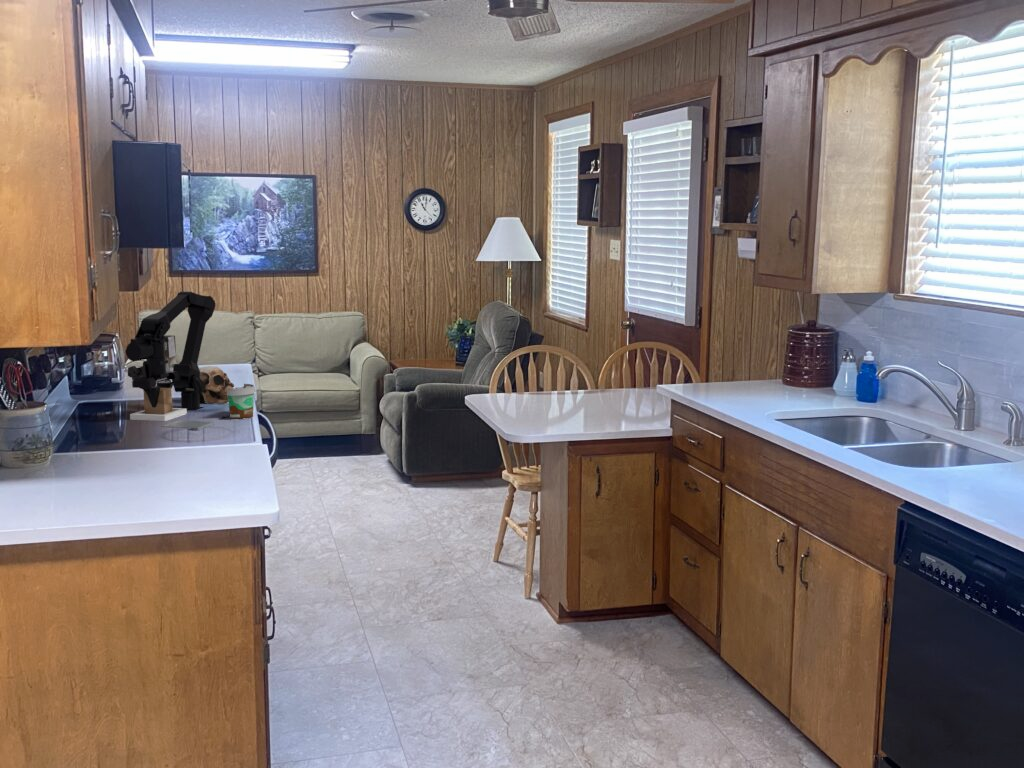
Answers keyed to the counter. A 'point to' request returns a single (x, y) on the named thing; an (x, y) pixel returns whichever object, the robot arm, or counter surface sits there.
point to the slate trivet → (189, 424)
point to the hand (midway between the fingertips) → (158, 406)
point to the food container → (241, 401)
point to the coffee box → (170, 352)
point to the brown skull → (214, 385)
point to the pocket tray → (155, 417)
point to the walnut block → (159, 402)
